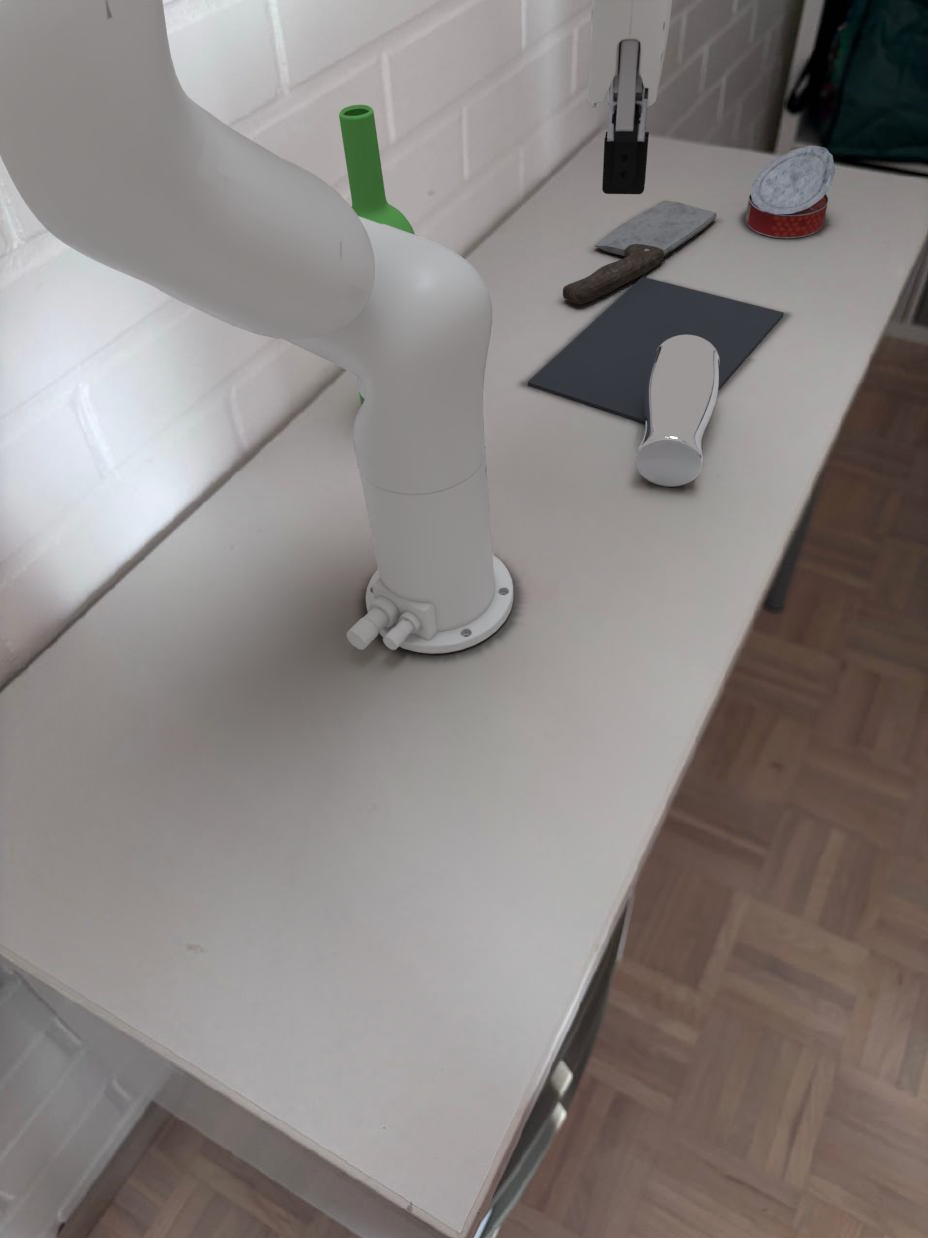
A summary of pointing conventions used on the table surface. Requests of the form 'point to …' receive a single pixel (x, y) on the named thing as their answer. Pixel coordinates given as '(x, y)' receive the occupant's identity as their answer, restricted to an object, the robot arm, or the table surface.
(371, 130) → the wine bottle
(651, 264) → the cleaver
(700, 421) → the beer glass
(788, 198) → the canned food
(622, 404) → the mat
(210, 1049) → the table surface
